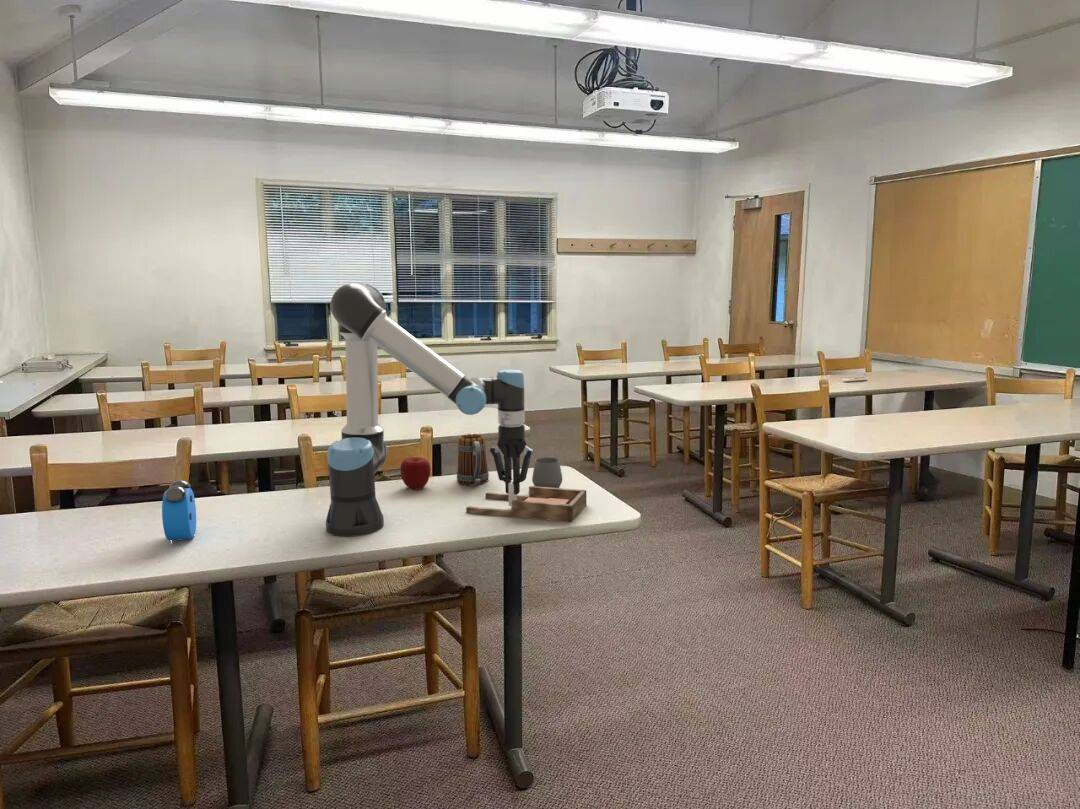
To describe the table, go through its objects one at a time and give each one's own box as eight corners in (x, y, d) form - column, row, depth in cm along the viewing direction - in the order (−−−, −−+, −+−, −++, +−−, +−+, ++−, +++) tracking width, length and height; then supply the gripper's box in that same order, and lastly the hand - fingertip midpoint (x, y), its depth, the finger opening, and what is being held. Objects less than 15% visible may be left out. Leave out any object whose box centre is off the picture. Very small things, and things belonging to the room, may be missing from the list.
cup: (529, 495, 218) (529, 463, 216) (535, 486, 227) (534, 456, 225) (560, 496, 216) (559, 464, 214) (564, 487, 225) (564, 456, 223)
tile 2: (542, 514, 201) (542, 504, 200) (549, 508, 206) (549, 498, 206) (563, 516, 199) (563, 506, 198) (569, 509, 204) (569, 499, 204)
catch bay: (466, 512, 203) (465, 497, 202) (487, 496, 217) (486, 482, 216) (571, 522, 193) (571, 506, 192) (586, 505, 207) (586, 490, 206)
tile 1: (521, 513, 202) (521, 503, 201) (528, 507, 207) (528, 497, 207) (541, 515, 200) (541, 504, 199) (548, 508, 205) (548, 498, 205)
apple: (418, 493, 222) (416, 462, 220) (394, 489, 227) (393, 459, 225) (437, 485, 230) (435, 455, 228) (414, 482, 235) (412, 452, 233)
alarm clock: (174, 532, 191) (167, 478, 188) (199, 529, 193) (193, 475, 190) (165, 549, 179) (158, 491, 176) (192, 545, 181) (186, 488, 178)
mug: (454, 478, 238) (452, 434, 236) (485, 475, 241) (483, 432, 239) (463, 491, 224) (461, 444, 221) (496, 487, 227) (494, 441, 224)
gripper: (485, 425, 200) (486, 506, 204) (528, 428, 196) (529, 510, 200) (495, 420, 207) (496, 498, 211) (537, 423, 203) (538, 502, 207)
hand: (512, 504), depth 206 cm, fingers closed
